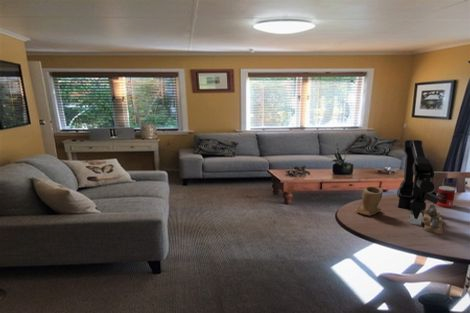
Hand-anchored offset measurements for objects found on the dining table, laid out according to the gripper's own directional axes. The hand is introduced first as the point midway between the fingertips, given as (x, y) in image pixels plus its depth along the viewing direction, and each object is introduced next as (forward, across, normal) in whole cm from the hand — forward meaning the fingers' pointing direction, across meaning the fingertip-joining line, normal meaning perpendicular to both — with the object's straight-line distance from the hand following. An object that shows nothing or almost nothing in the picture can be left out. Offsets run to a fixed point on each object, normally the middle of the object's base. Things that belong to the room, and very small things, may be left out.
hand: (416, 215), depth 144 cm
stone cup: (+4, +2, +22) cm, 22 cm away
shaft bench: (+4, +5, -8) cm, 10 cm away
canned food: (+4, +37, -14) cm, 40 cm away
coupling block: (+4, 0, 0) cm, 4 cm away
